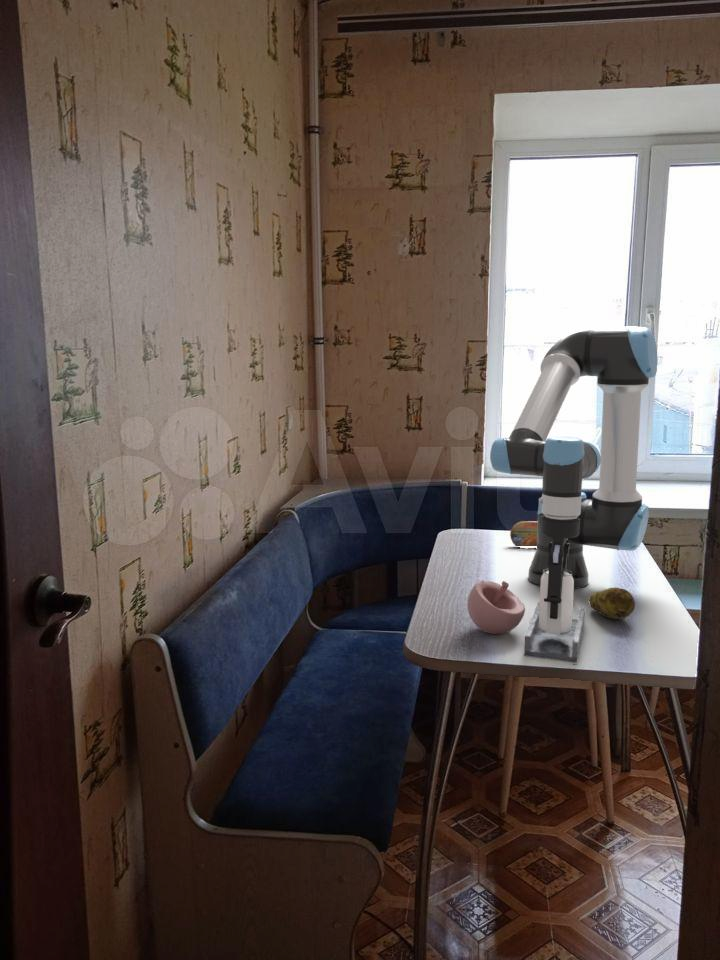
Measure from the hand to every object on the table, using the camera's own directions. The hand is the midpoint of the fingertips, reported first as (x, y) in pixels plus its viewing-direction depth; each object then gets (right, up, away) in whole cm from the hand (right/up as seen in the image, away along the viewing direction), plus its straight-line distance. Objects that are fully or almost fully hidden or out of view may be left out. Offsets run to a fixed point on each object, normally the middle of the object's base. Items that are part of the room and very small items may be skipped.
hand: (555, 626), depth 155 cm
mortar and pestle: (-11, -3, +7) cm, 13 cm away
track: (+1, -3, +3) cm, 5 cm away
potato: (+17, -2, +16) cm, 23 cm away
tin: (+14, +9, +79) cm, 80 cm away
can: (0, -1, 0) cm, 1 cm away
